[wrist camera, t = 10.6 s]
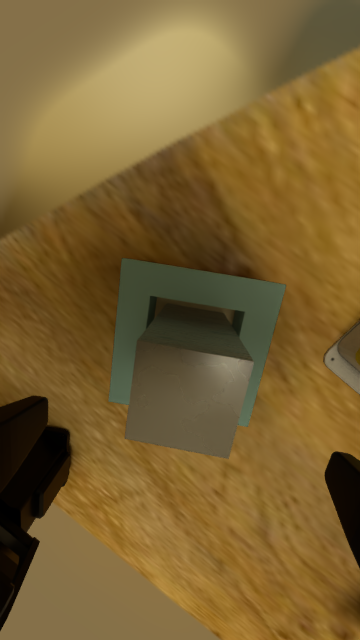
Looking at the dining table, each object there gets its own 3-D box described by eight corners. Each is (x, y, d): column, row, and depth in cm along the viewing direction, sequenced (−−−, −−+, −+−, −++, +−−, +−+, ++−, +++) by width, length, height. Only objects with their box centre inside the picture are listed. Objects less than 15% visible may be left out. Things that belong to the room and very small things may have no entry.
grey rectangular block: (158, 355, 18) (124, 438, 9) (167, 303, 17) (137, 340, 8) (212, 365, 18) (228, 458, 9) (223, 313, 17) (254, 361, 8)
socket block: (125, 375, 20) (108, 401, 16) (138, 259, 17) (121, 257, 14) (237, 395, 20) (247, 426, 16) (265, 280, 17) (286, 284, 13)
